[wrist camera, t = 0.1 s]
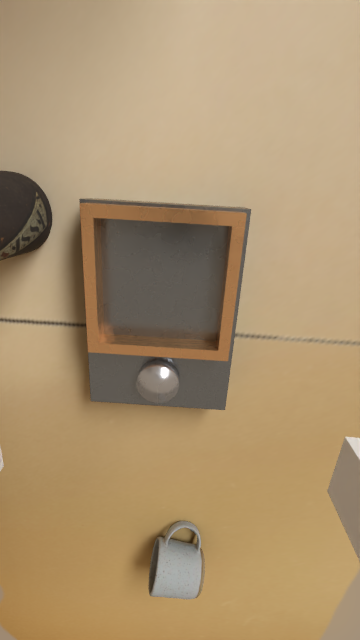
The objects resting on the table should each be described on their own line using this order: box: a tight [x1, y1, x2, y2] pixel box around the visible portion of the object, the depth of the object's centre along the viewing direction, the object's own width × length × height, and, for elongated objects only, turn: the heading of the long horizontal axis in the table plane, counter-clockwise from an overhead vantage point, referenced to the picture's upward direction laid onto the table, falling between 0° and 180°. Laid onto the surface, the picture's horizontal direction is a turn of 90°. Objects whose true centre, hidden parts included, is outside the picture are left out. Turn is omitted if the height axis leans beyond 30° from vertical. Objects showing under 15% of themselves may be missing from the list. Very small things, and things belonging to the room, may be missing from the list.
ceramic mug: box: [149, 521, 205, 599], centre depth 52 cm, size 11×8×8 cm
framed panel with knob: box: [80, 198, 251, 410], centre depth 37 cm, size 24×17×6 cm
